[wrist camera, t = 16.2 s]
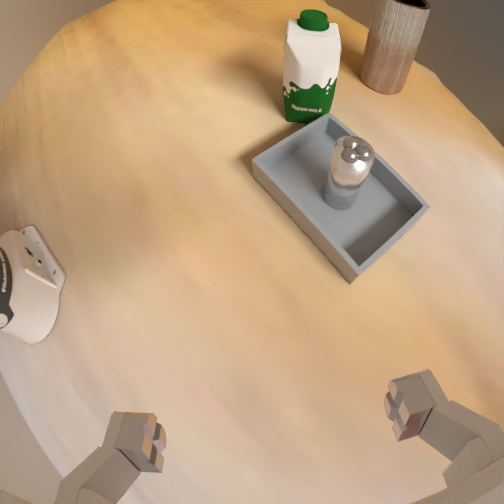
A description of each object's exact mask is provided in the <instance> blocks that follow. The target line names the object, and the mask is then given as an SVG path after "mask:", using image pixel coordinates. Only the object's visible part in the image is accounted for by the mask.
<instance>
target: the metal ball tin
mask: <svg viewBox="0 0 504 504" xmlns="http://www.w3.org/2000/svg"><path fill="white" fill-rule="evenodd" d="M374 159H375V153H374V150H373V148H372V147H371V145H370V144H369V143H368V142H366V141H365V140H364V139H362V138H359V137H356V136H344V137H342V138H340V139H338V140H337V141H336V143H335V146H334V150H333V153H332V157H331V161H330V165H329V169H328V173H327V176H326V180H325V184H324V187H323V191H322V196H323V199H324V201H325V203H326V204H327V205H328V206H329V207H331V208H333V209H335V210H347V209H349V208H350V207H352V206H353V204H354V202H355V200H356V198H357V196H358V194H359V192H360V190H361V188H362V186H363V184H364V181H365V179H366V177H367V175H368V173H369V171H370V168H371V166H372V164H373V162H374Z"/></svg>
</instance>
